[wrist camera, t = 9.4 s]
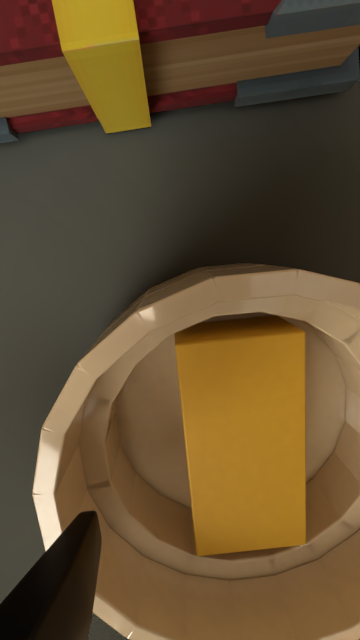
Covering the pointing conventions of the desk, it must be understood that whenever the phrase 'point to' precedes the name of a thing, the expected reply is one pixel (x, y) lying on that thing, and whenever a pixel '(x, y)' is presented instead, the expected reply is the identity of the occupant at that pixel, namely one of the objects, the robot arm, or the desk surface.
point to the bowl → (172, 473)
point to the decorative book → (166, 57)
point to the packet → (244, 432)
